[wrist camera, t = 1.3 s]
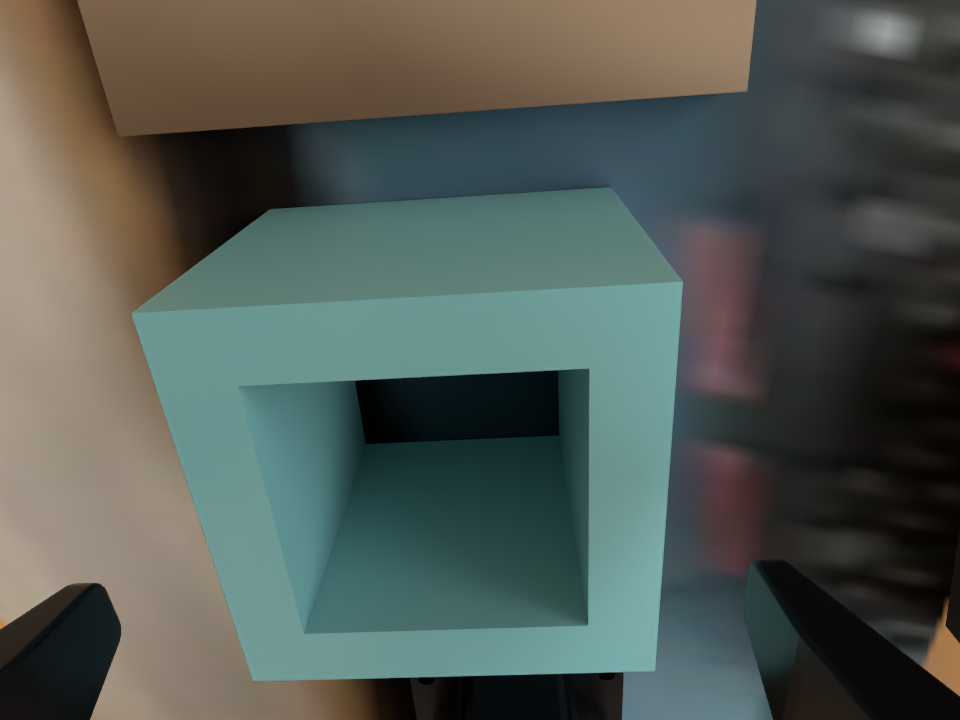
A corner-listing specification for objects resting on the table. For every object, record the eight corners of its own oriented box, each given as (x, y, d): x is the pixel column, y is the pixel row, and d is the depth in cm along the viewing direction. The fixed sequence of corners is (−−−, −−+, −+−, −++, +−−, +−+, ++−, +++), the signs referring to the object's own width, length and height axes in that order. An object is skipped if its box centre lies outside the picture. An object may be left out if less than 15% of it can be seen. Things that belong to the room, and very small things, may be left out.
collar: (605, 471, 17) (654, 671, 12) (328, 483, 17) (252, 681, 12) (611, 186, 14) (682, 281, 8) (270, 209, 14) (131, 312, 9)
